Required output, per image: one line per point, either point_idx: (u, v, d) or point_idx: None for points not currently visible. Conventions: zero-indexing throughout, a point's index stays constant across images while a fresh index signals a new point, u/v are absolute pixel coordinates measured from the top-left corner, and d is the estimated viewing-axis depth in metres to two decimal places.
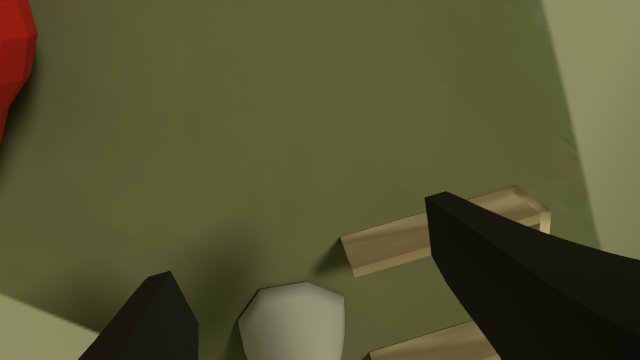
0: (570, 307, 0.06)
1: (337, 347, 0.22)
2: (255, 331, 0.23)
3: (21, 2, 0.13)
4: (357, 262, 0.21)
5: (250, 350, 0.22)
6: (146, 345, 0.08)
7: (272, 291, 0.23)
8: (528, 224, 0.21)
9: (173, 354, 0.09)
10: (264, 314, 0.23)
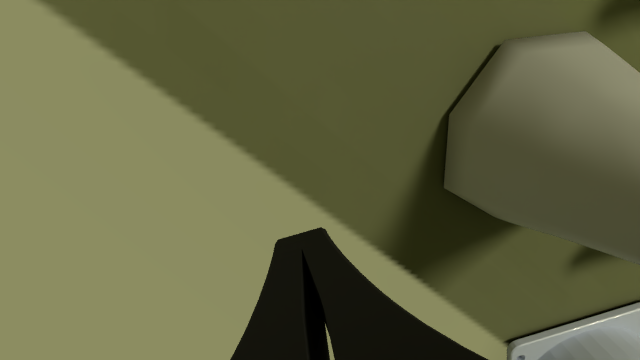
0: None
1: None
2: (511, 107, 0.12)
3: None
4: None
5: (506, 139, 0.12)
6: (307, 297, 0.08)
7: (528, 42, 0.12)
8: None
9: (316, 311, 0.09)
10: (531, 69, 0.12)
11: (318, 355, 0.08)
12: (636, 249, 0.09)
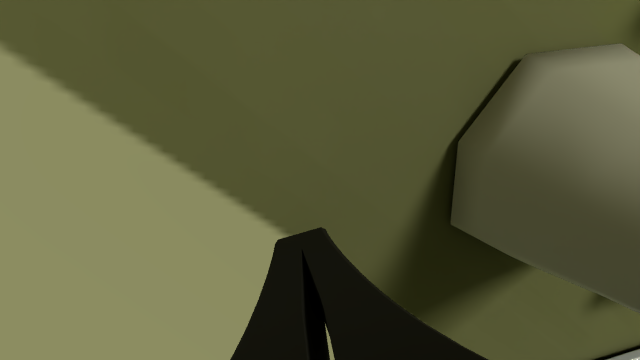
0: None
1: None
2: (535, 137, 0.10)
3: None
4: None
5: (529, 177, 0.09)
6: (307, 297, 0.08)
7: (554, 57, 0.10)
8: None
9: (316, 311, 0.09)
10: (560, 92, 0.09)
11: (318, 355, 0.08)
12: None
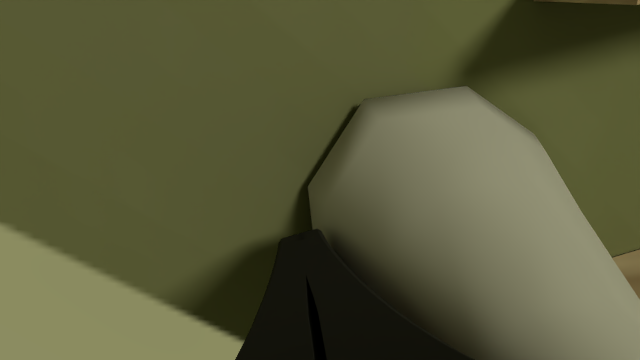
0: None
1: (579, 212, 0.09)
2: (362, 189, 0.09)
3: None
4: None
5: (353, 231, 0.09)
6: (311, 296, 0.08)
7: (391, 103, 0.10)
8: None
9: None
10: (384, 143, 0.09)
11: (323, 354, 0.08)
12: None
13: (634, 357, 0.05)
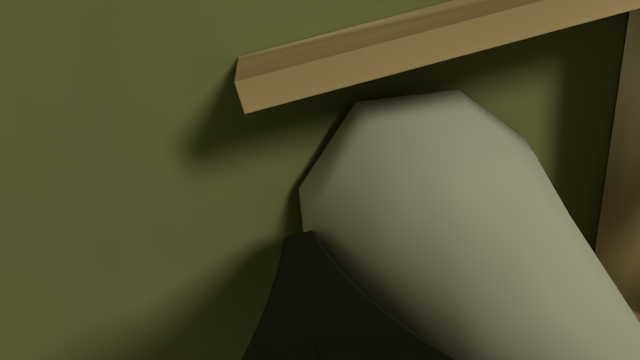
0: None
1: None
2: (352, 191, 0.09)
3: None
4: (255, 71, 0.07)
5: (343, 234, 0.09)
6: None
7: (383, 105, 0.10)
8: None
9: None
10: (375, 145, 0.09)
11: None
12: None
13: None
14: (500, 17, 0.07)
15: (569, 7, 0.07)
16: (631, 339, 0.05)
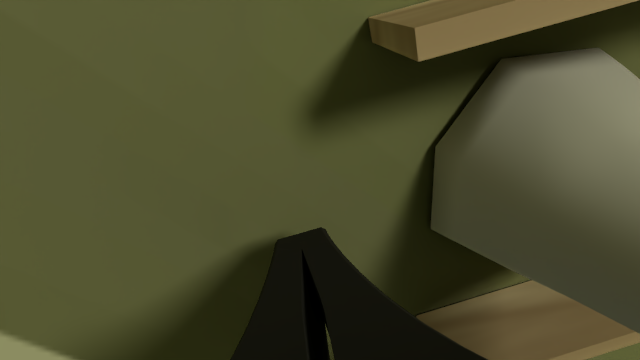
0: None
1: None
2: (508, 143, 0.10)
3: None
4: (425, 20, 0.07)
5: (502, 183, 0.09)
6: (307, 297, 0.08)
7: (529, 62, 0.10)
8: None
9: (316, 311, 0.09)
10: (533, 97, 0.09)
11: (318, 355, 0.08)
12: None
13: None
14: None
15: None
16: None
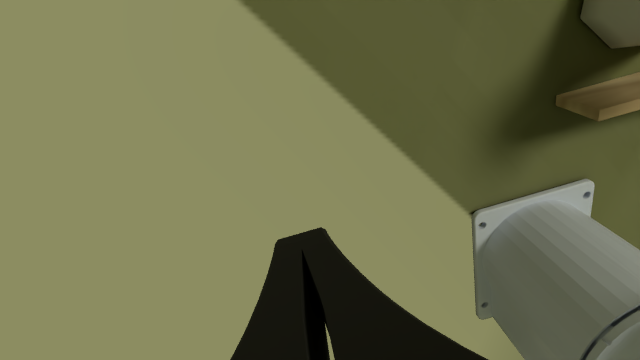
0: None
1: None
2: None
3: None
4: None
5: None
6: (307, 297, 0.08)
7: None
8: None
9: (316, 311, 0.09)
10: None
11: (318, 355, 0.08)
12: None
13: None
14: None
15: None
16: None
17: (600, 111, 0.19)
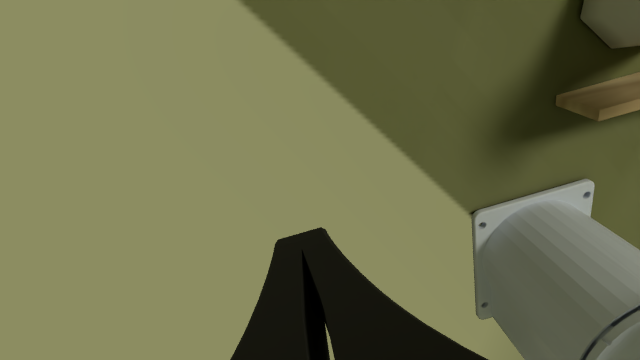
0: None
1: None
2: None
3: None
4: None
5: None
6: (307, 297, 0.08)
7: None
8: None
9: (316, 311, 0.09)
10: None
11: (318, 355, 0.08)
12: None
13: None
14: None
15: None
16: None
17: (600, 111, 0.19)
